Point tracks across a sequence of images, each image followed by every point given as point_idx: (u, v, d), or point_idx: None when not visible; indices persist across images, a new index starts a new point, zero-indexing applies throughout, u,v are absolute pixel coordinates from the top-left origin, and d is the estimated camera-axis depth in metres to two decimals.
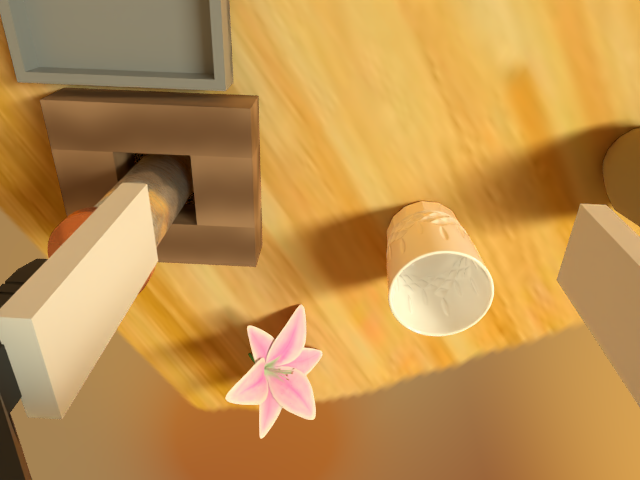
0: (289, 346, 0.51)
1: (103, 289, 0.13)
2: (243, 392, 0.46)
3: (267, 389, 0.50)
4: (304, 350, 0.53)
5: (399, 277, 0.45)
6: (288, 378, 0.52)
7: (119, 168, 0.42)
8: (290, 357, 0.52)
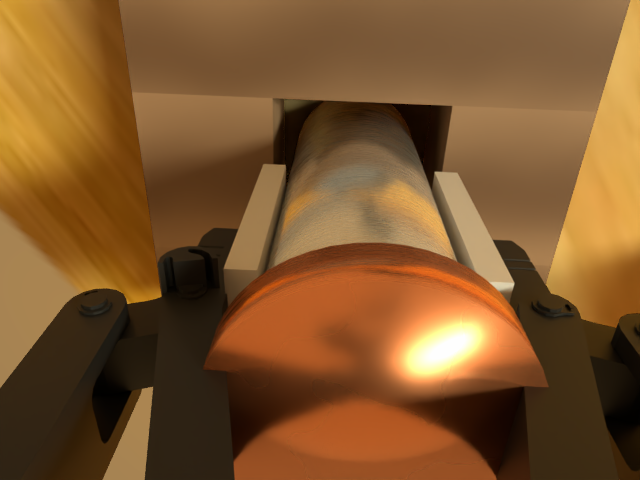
0: None
1: None
2: None
3: None
4: None
5: None
6: None
7: (275, 138, 0.19)
8: None
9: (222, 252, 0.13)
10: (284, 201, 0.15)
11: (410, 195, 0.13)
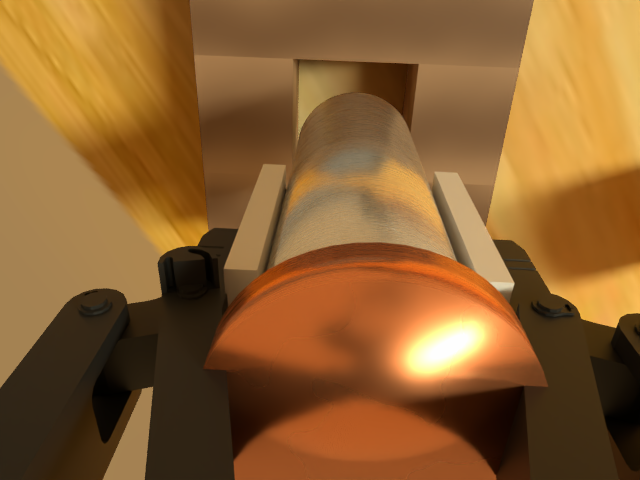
0: None
1: None
2: None
3: None
4: None
5: None
6: None
7: (293, 90, 0.27)
8: None
9: (222, 252, 0.13)
10: (284, 201, 0.15)
11: (410, 194, 0.13)
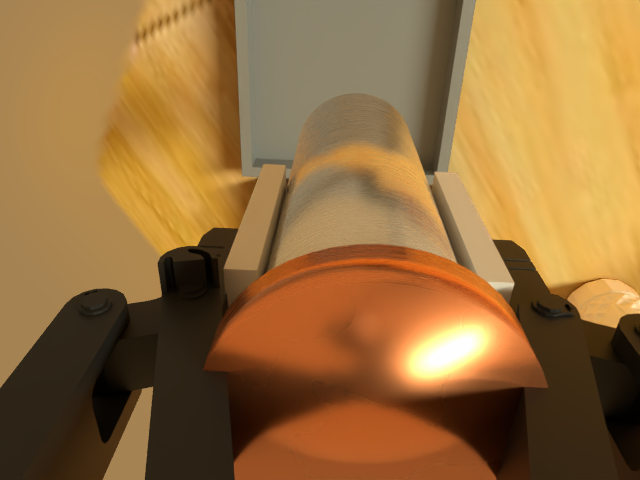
0: None
1: None
2: None
3: None
4: None
5: None
6: None
7: None
8: None
9: (222, 252, 0.13)
10: (284, 202, 0.15)
11: (410, 195, 0.13)
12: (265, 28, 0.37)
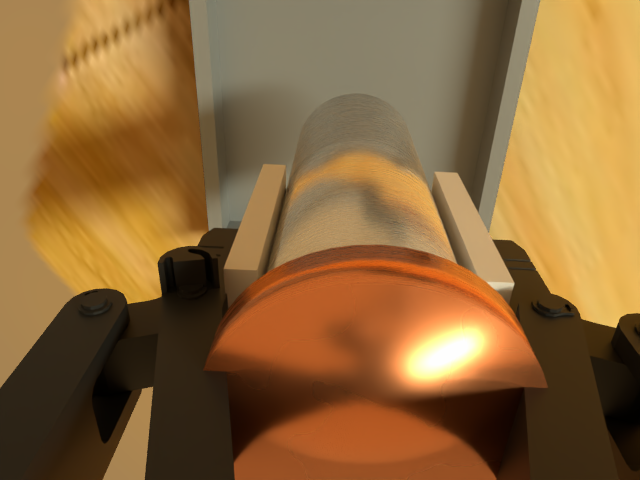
0: None
1: None
2: None
3: None
4: None
5: None
6: None
7: None
8: None
9: (222, 252, 0.13)
10: (284, 202, 0.15)
11: (410, 196, 0.13)
12: (237, 52, 0.27)
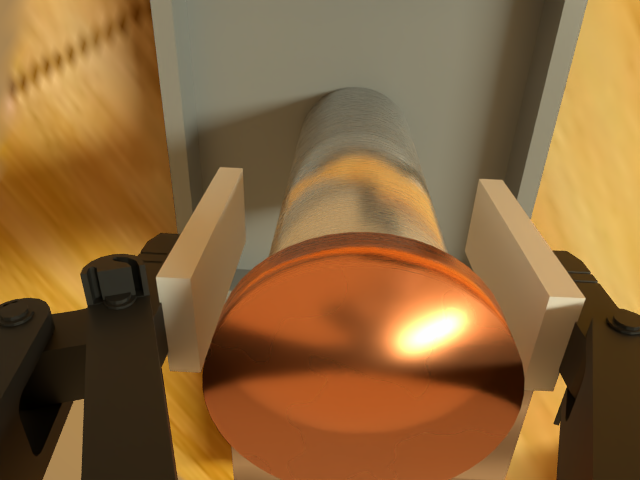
0: None
1: (221, 260, 0.14)
2: None
3: None
4: None
5: None
6: None
7: None
8: None
9: (164, 259, 0.13)
10: (285, 193, 0.16)
11: (403, 187, 0.14)
12: (215, 76, 0.22)
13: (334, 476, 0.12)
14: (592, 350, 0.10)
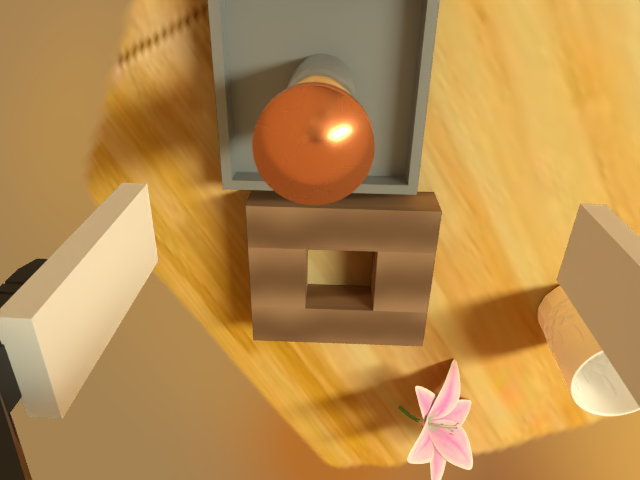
0: (447, 401, 0.53)
1: (103, 289, 0.13)
2: (419, 452, 0.48)
3: (432, 444, 0.52)
4: (457, 402, 0.55)
5: None
6: (447, 431, 0.54)
7: (305, 261, 0.45)
8: (447, 410, 0.54)
9: None
10: None
11: (336, 84, 0.30)
12: (240, 49, 0.39)
13: (305, 193, 0.28)
14: None
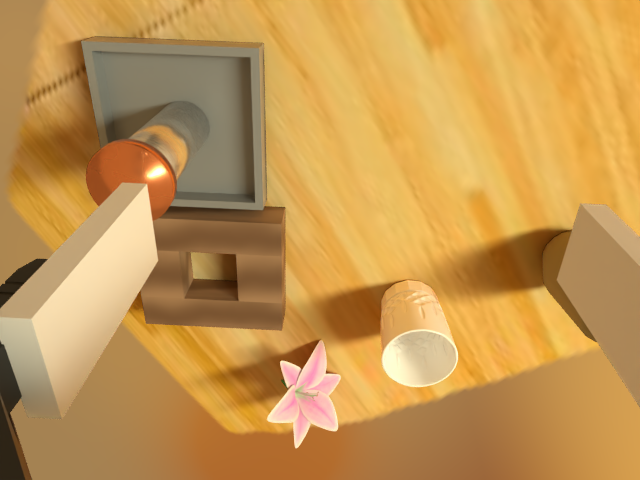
0: (314, 374, 0.65)
1: (103, 289, 0.13)
2: (280, 413, 0.60)
3: (298, 409, 0.63)
4: (325, 375, 0.66)
5: None
6: (314, 399, 0.65)
7: (181, 261, 0.56)
8: (315, 382, 0.65)
9: None
10: None
11: (163, 134, 0.42)
12: (118, 96, 0.50)
13: None
14: None
